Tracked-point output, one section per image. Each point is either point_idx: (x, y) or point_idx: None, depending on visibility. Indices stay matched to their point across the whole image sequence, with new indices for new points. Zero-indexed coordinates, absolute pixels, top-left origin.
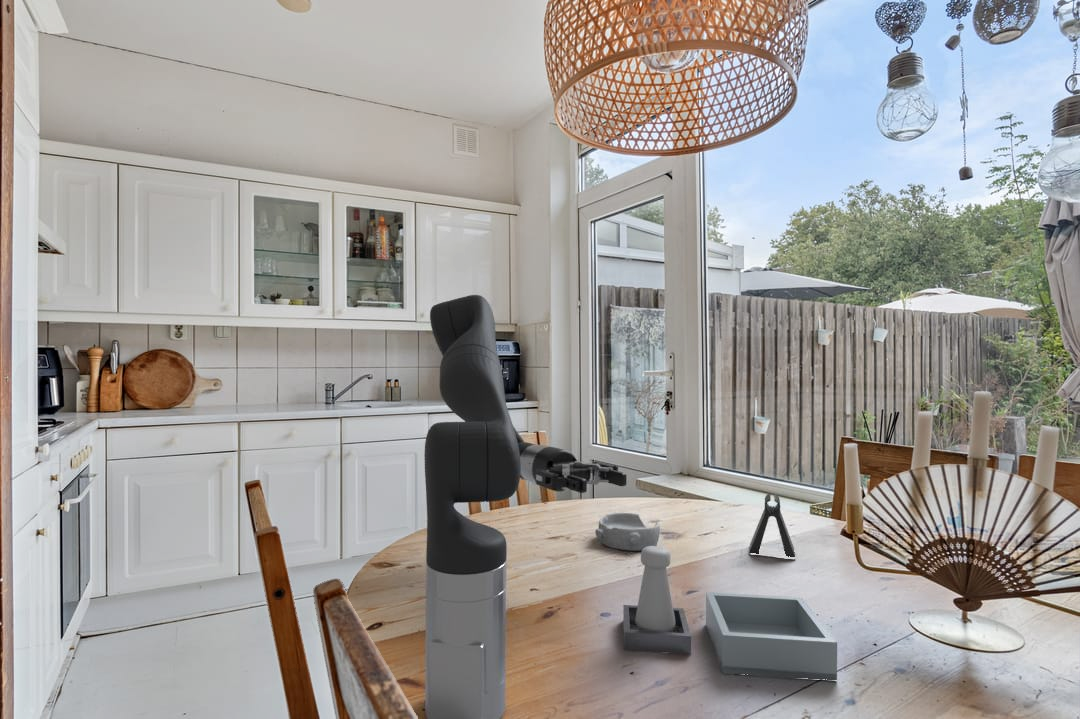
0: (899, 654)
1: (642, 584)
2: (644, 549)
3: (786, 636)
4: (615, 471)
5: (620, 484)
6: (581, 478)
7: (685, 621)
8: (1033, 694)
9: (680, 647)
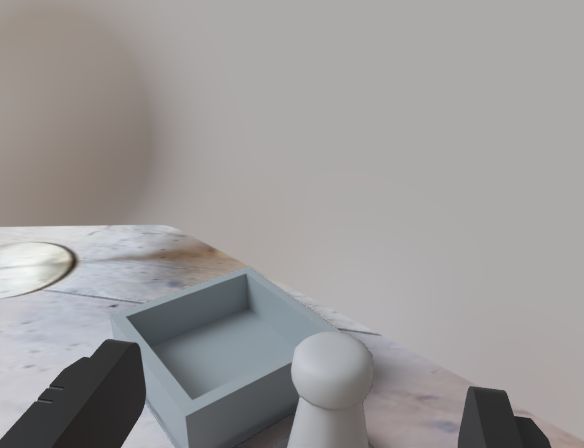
0: (130, 289)
1: (359, 442)
2: (358, 366)
3: (277, 294)
4: (86, 393)
5: (134, 414)
6: (494, 408)
7: (283, 442)
8: (155, 234)
9: None
